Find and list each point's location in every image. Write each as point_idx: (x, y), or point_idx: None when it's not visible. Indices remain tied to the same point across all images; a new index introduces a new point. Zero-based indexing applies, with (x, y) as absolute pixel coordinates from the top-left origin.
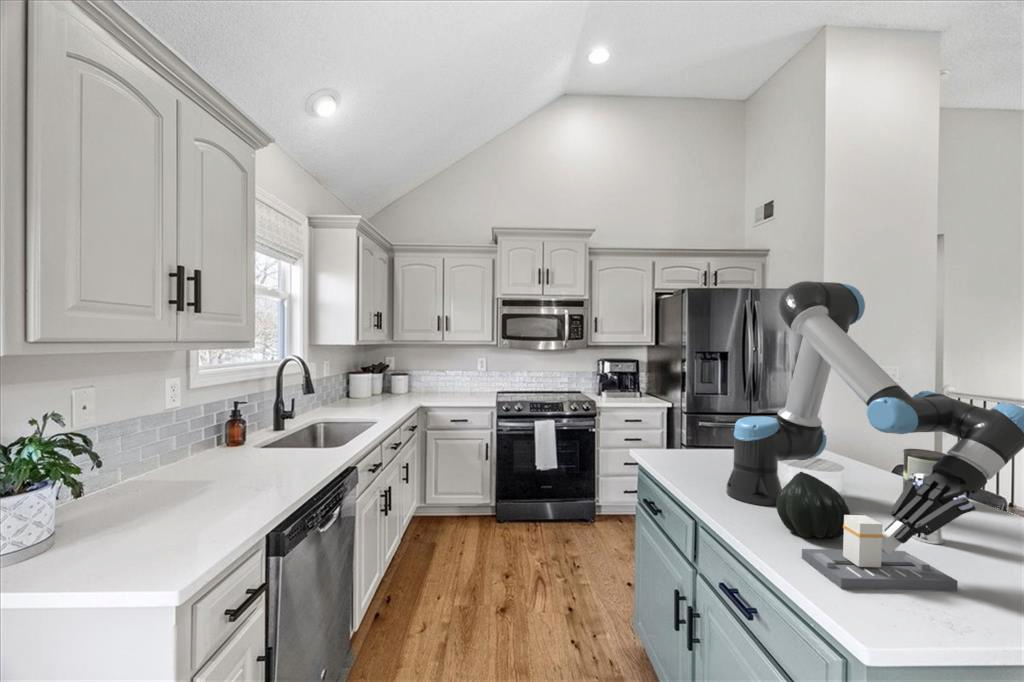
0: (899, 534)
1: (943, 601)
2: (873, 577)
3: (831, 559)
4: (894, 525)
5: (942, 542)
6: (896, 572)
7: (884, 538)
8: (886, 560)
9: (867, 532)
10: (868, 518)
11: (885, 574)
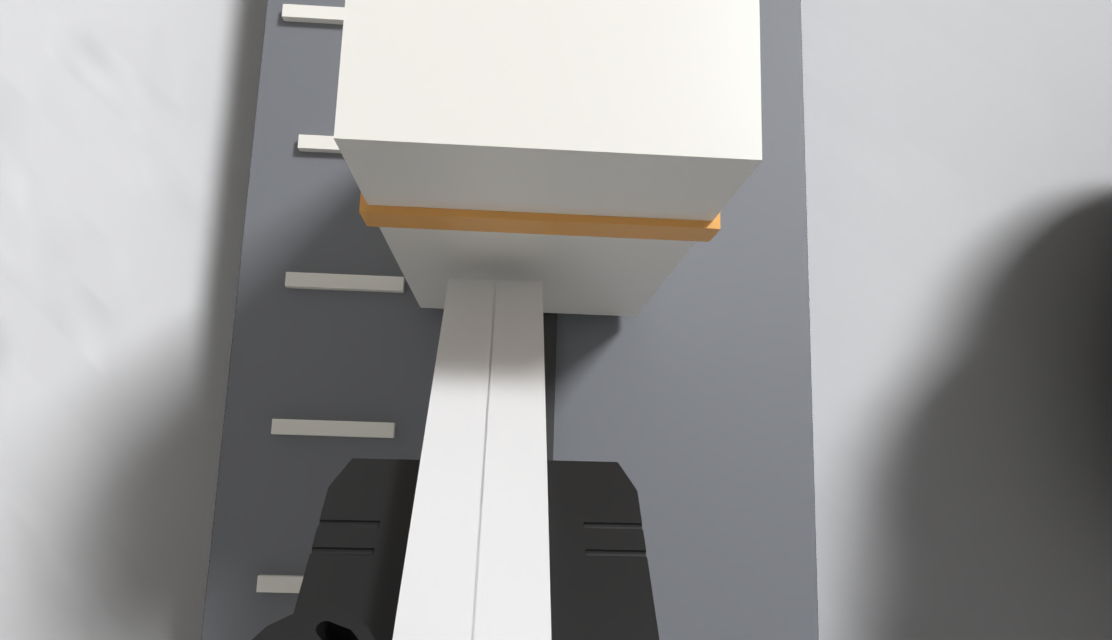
0: (377, 510)
1: (74, 573)
2: (281, 122)
3: None
4: (505, 540)
5: None
6: (359, 412)
7: (473, 349)
8: None
9: None
10: (609, 97)
11: (325, 271)
